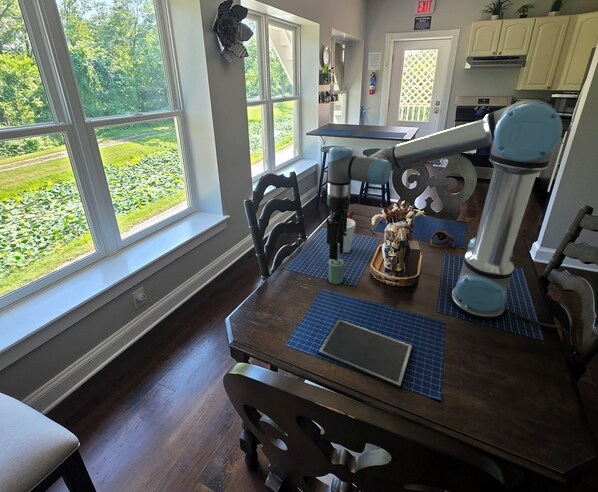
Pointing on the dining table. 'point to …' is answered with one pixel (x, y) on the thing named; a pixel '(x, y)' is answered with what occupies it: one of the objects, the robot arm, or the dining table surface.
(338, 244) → the stylus
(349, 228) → the foam cup
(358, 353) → the tablet
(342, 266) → the pen pot
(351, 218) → the glasses
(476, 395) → the dining table surface
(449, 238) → the pottery mug
